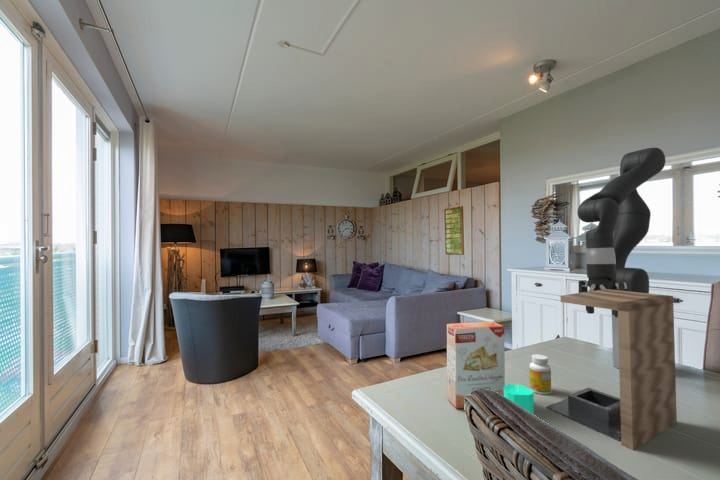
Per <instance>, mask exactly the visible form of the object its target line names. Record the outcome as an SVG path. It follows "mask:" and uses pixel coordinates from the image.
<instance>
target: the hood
mask: <svg viewBox="0 0 720 480" xmlns="http://www.w3.org/2000/svg"><path fill="white" fill-rule="evenodd" d="M588 291H589V290H588ZM559 297H560V302H561V303H564V304H565V303H566V304H573V305H578V306H585V307H586V306H591V307H594V308H599V309H606V310H611V311H612V310H618V339H619V368H618V369H619V370H618V371H619V373H618V375H619V398H620V412H621V440H620V441H621V442H620V443H621V444H620V445H621V446H623V447H626V448H628V449H630V450H631V451H634V450H635V449H637V448H638V447H641V445H644V444H645V443H647V442H649V441H650V440H652V439H654V438H655V437H657V436H659V435H660V434H662V433H664V432H666V431H667V430H668V429H670V428H672V427H673V426H676V425H677V423H678V419H677V418H678V417H677V414H678V413H677V385H676V383H677V380H676V354H675V353H676V350H675V348H676V347H675V344H676V343H675V319H674V317H675V315H674V311H675V310H674V295H667V294H666V295H665V294H659V293H658V294H657V293H650V292H649V293H639V292H629V291H620V290H610V289H603V290H596V291H589V292H582V293H579V292H577V293H570V294H564V295H560V296H559Z"/></svg>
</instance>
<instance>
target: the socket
mask: <svg viewBox="0 0 720 480" xmlns="http://www.w3.org/2000/svg"><path fill="white" fill-rule="evenodd" d="M545 408H546V409H547V410H549V411H552V412H554V413H556V414H558V415H560V416H562V417H565V418H567V419H569V420H571V421H574V422H576V423H578V424H581V425H583V426H584V427H588V428H590V429H591V430H593V431H595V432H598V433H600V434H602V435H604V436H607V437H609V438H611V439H613V440H615V441H618V442H620V441H621V412H620V397H616V396H614V395H611V394H608V393H605V392H603V391H600V390H597V389H594V388H591V387H585V388H583V389H581V390H578V391H575V392H573V393H569V394H568V395H567V398H565V399H563V400H560V401H558V402H555V403H552V404H550V405H547V406H546V407H545Z"/></svg>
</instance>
